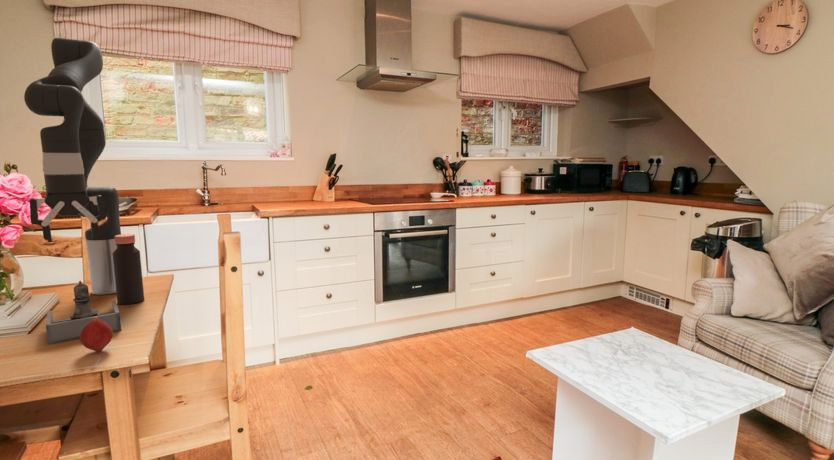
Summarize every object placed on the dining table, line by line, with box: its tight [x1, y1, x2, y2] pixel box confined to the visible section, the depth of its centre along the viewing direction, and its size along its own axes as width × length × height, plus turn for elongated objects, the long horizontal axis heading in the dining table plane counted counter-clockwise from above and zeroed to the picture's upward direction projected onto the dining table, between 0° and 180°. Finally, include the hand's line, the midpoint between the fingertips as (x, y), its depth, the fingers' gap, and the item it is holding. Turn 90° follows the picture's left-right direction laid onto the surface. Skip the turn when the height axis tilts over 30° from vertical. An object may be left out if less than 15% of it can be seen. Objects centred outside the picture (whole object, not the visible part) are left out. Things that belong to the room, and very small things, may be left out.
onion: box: [79, 317, 114, 353], centre depth 98 cm, size 6×6×8 cm
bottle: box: [113, 233, 145, 306], centre depth 131 cm, size 7×7×20 cm
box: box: [45, 300, 122, 345], centre depth 110 cm, size 12×14×4 cm
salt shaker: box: [68, 280, 99, 320], centre depth 110 cm, size 6×6×12 cm
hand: (72, 239), depth 108 cm, fingers open, 8 cm apart
